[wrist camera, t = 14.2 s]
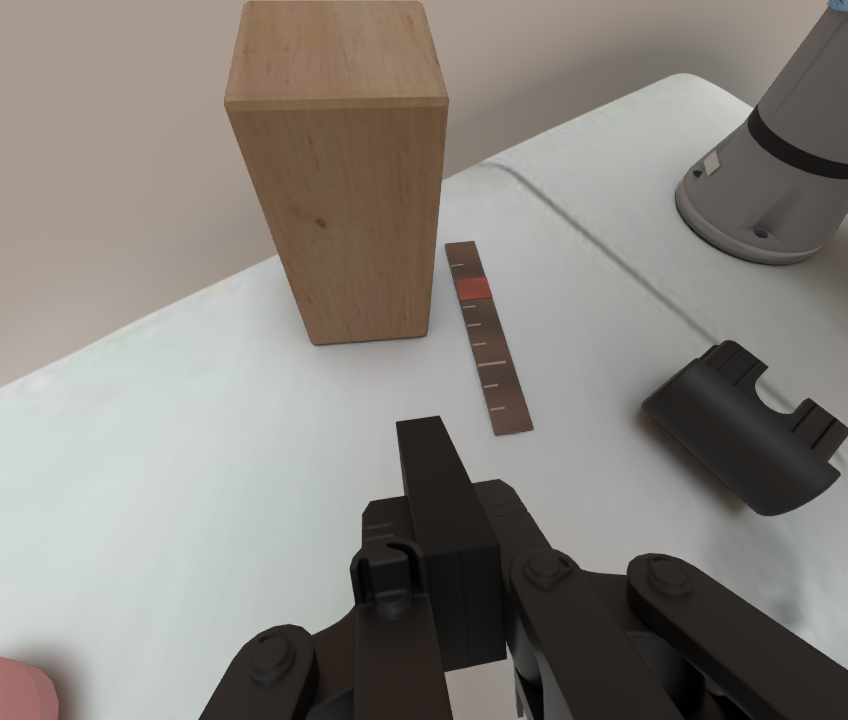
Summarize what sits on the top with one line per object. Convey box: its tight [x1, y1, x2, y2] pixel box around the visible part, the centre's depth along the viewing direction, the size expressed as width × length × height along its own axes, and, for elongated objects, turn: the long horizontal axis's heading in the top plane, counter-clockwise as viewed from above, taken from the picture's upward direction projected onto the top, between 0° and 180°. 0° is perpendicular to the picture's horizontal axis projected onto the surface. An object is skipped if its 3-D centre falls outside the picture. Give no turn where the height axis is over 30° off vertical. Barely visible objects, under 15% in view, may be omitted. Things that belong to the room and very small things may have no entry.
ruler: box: [445, 241, 534, 436], centre depth 36 cm, size 20×3×1 cm, turn 10°
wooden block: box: [224, 1, 449, 344], centre depth 29 cm, size 10×10×20 cm
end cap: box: [641, 340, 848, 516], centre depth 29 cm, size 10×7×7 cm
